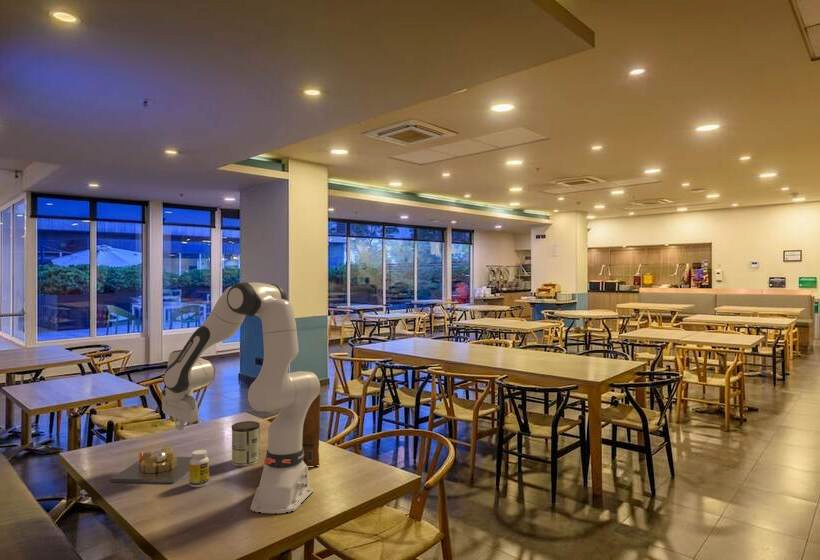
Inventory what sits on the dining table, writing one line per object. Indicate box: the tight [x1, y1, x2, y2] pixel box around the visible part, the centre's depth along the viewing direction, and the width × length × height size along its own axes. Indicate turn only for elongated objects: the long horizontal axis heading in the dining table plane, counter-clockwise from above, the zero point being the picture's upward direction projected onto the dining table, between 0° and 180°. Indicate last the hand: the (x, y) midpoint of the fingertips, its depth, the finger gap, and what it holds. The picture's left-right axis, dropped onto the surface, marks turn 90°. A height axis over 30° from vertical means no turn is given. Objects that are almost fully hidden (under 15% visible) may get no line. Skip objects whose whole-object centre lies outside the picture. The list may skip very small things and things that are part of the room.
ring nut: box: [140, 445, 178, 473], centre depth 186 cm, size 14×12×5 cm
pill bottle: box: [188, 449, 210, 488], centre depth 173 cm, size 6×6×11 cm
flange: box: [110, 450, 193, 485], centre depth 185 cm, size 22×22×6 cm
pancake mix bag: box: [302, 393, 322, 466], centre depth 193 cm, size 7×19×28 cm, turn 57°
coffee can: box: [231, 420, 261, 467], centre depth 195 cm, size 10×10×14 cm
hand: (179, 429), depth 189 cm, fingers closed
